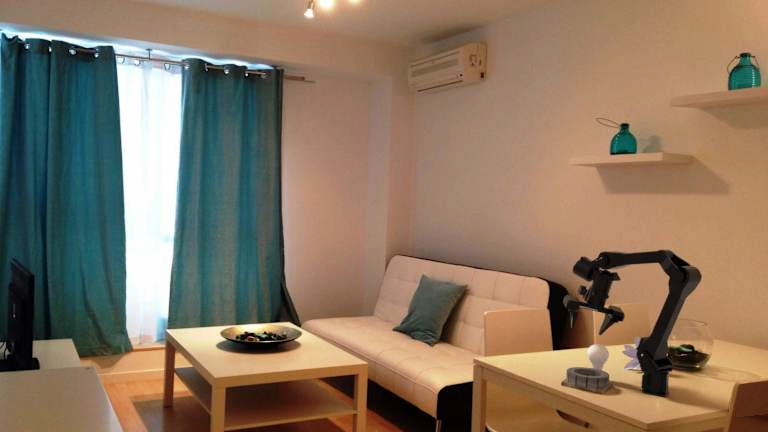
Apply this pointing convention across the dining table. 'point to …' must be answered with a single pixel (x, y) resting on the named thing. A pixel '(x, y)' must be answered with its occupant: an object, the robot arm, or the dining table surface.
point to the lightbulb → (598, 356)
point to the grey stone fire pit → (587, 379)
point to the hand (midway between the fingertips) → (585, 331)
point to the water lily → (632, 355)
